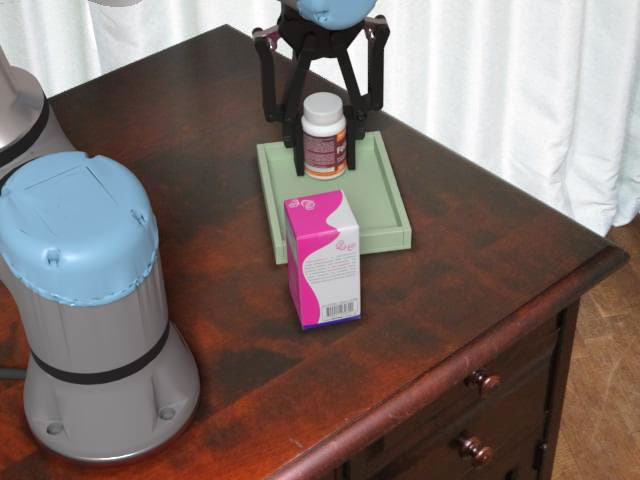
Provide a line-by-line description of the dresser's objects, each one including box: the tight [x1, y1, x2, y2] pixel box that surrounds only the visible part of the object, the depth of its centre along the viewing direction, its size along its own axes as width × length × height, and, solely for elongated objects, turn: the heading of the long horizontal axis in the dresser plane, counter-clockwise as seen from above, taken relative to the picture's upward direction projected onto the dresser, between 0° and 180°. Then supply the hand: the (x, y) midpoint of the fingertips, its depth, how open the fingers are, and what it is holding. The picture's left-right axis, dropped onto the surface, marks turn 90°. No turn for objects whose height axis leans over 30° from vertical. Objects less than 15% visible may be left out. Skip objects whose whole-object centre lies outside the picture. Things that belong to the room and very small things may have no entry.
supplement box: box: [284, 190, 362, 330], centre depth 106 cm, size 6×6×12 cm
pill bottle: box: [300, 91, 347, 180], centre depth 120 cm, size 5×5×8 cm
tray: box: [255, 130, 413, 265], centre depth 120 cm, size 14×17×2 cm
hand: (324, 164), depth 123 cm, fingers closed on pill bottle, 5 cm apart
